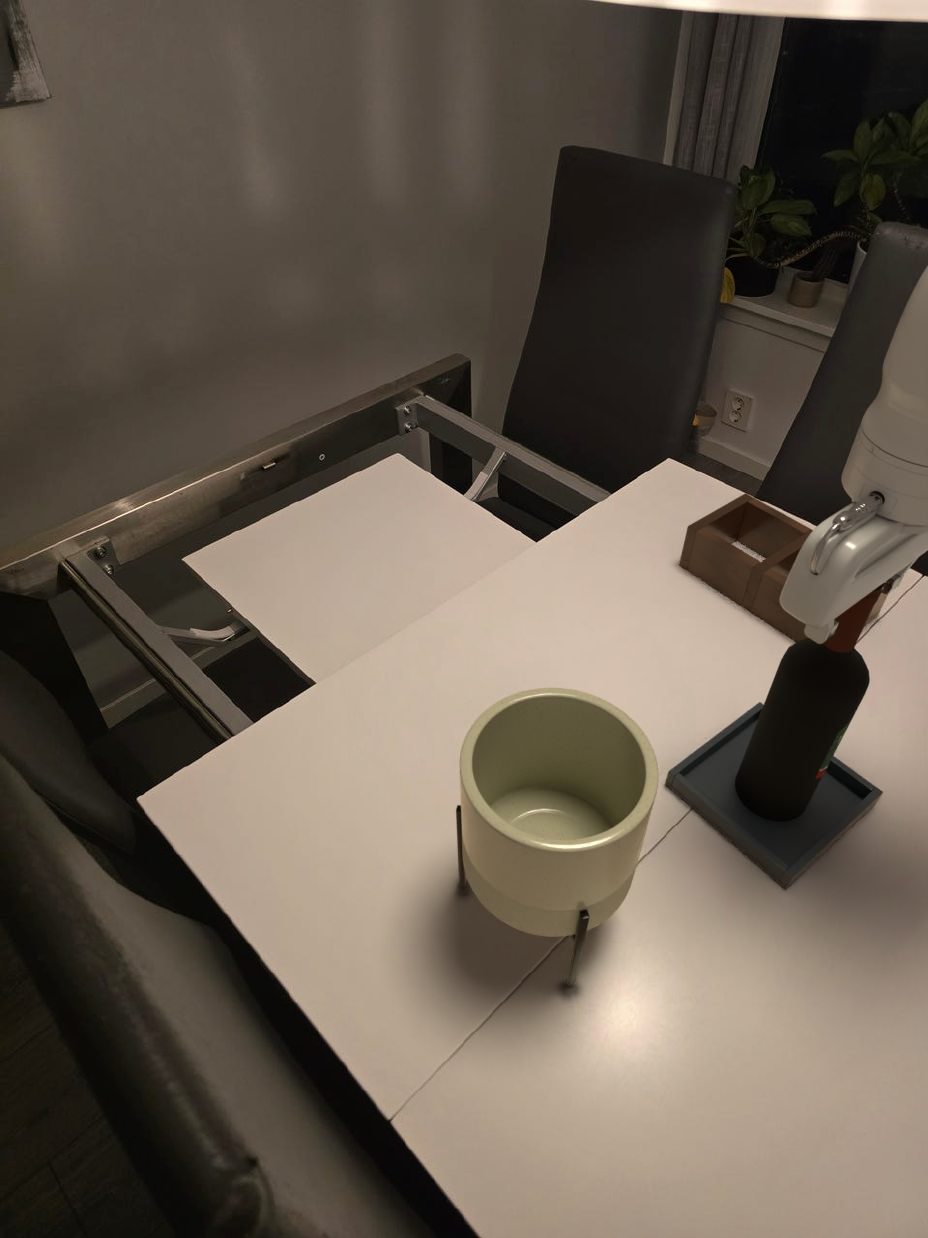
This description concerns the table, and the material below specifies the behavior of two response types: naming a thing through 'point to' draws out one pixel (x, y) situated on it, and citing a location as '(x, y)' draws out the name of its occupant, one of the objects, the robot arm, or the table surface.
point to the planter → (553, 811)
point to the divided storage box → (750, 558)
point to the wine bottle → (805, 718)
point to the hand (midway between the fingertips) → (851, 611)
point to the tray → (766, 841)
